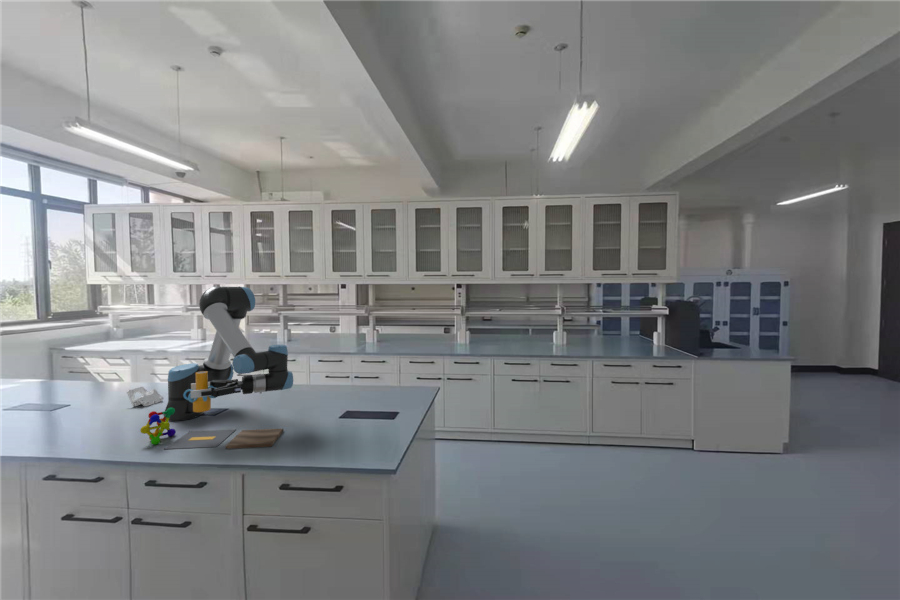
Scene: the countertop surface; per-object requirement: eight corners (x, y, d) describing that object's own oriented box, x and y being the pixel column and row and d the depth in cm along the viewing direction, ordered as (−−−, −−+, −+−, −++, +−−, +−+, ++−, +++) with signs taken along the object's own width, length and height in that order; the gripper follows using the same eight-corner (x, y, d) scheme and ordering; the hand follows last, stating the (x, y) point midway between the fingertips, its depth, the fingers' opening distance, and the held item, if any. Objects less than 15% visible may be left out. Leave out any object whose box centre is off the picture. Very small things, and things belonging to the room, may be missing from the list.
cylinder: (200, 416, 146) (200, 376, 145) (177, 414, 148) (176, 375, 147) (225, 406, 158) (225, 369, 157) (203, 404, 160) (203, 368, 159)
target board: (242, 433, 160) (242, 430, 160) (283, 431, 162) (283, 428, 162) (225, 448, 144) (225, 445, 144) (271, 446, 146) (271, 443, 146)
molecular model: (157, 445, 146) (157, 415, 146) (138, 445, 146) (138, 415, 146) (178, 435, 158) (178, 406, 158) (161, 435, 158) (161, 406, 158)
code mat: (189, 431, 161) (189, 431, 161) (235, 429, 163) (235, 429, 163) (163, 449, 143) (163, 448, 143) (216, 447, 146) (216, 446, 146)
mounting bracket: (155, 404, 206) (147, 385, 206) (165, 399, 205) (157, 380, 205) (134, 411, 194) (126, 391, 194) (144, 406, 193) (136, 386, 193)
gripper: (256, 400, 153) (190, 408, 141) (249, 386, 173) (191, 393, 161) (256, 381, 152) (190, 388, 141) (249, 369, 173) (191, 375, 161)
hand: (190, 390), depth 151 cm, fingers closed on cylinder, 12 cm apart
